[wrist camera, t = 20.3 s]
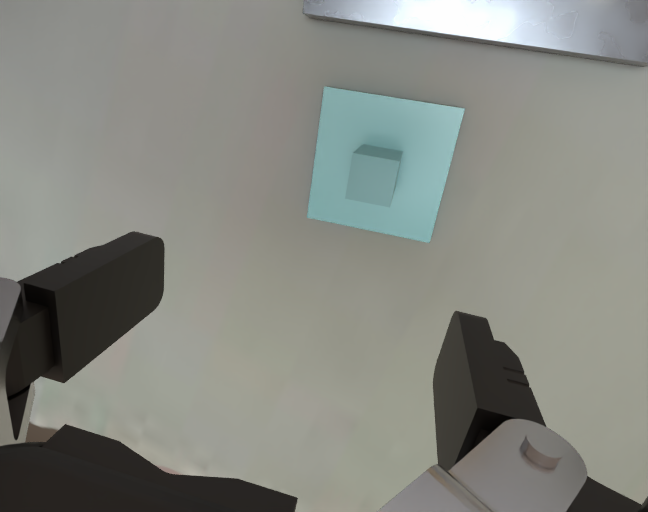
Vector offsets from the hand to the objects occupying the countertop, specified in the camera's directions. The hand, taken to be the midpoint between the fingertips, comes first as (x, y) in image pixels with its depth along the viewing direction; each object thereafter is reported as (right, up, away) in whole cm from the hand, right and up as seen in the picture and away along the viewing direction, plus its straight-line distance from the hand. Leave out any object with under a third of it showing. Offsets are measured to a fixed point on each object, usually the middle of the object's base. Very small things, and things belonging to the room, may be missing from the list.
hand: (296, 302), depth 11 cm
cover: (+5, +8, +21) cm, 23 cm away
